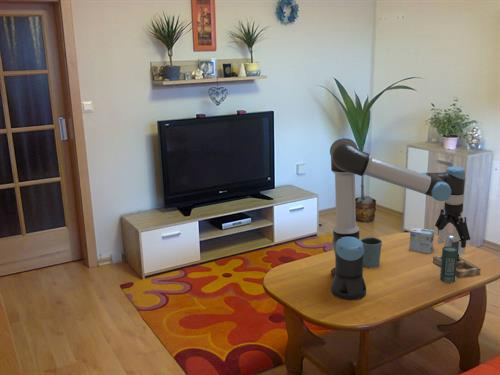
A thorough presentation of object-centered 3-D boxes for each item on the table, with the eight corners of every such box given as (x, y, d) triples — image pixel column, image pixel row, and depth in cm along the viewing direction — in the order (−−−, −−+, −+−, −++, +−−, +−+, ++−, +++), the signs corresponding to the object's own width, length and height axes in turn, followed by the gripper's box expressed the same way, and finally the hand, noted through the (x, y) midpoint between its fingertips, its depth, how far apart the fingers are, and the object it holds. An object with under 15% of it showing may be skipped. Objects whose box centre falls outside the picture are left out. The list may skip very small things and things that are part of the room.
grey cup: (360, 267, 246) (360, 244, 243) (359, 259, 256) (360, 236, 253) (381, 268, 245) (382, 245, 241) (380, 259, 254) (381, 237, 251)
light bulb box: (433, 249, 265) (434, 230, 262) (430, 254, 259) (431, 234, 257) (412, 246, 270) (413, 226, 268) (408, 250, 265) (409, 230, 262)
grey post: (449, 268, 242) (451, 238, 238) (440, 263, 248) (442, 234, 244) (459, 266, 244) (462, 237, 240) (450, 261, 250) (453, 232, 246)
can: (453, 277, 233) (456, 246, 229) (455, 283, 227) (458, 251, 223) (439, 276, 234) (441, 246, 230) (441, 282, 229) (443, 251, 225)
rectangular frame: (459, 278, 232) (459, 272, 231) (432, 262, 249) (433, 256, 249) (480, 274, 235) (480, 268, 234) (452, 259, 253) (453, 253, 252)
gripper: (481, 209, 211) (477, 257, 216) (442, 194, 234) (440, 237, 239) (466, 211, 209) (462, 260, 214) (428, 196, 232) (426, 240, 237)
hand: (450, 248), depth 227 cm, fingers open, 13 cm apart
